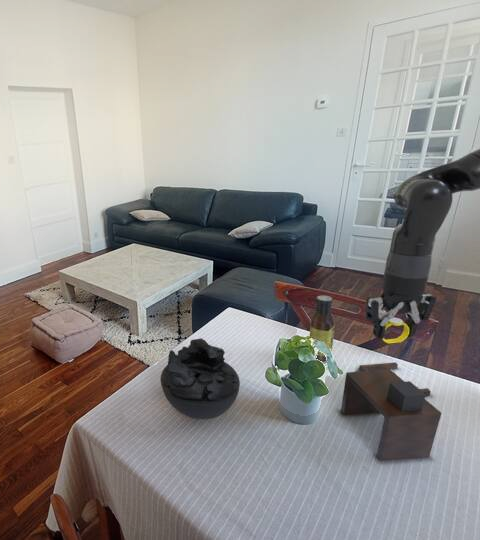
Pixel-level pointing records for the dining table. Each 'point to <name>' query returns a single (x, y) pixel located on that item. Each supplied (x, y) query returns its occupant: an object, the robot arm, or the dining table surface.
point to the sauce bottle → (323, 323)
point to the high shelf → (391, 415)
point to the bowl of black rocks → (200, 381)
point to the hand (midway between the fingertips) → (393, 336)
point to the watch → (397, 323)
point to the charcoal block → (406, 396)
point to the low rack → (387, 366)
